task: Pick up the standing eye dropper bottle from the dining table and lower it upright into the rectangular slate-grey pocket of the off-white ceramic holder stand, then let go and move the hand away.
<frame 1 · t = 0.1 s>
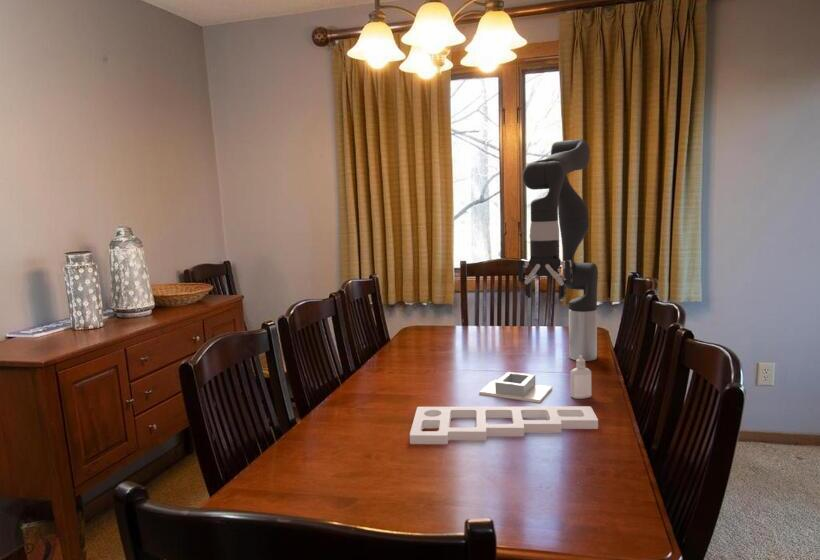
hand: (545, 298, 148), 29 cm above the table, tool pointing down, fingers open, 8 cm apart
eye dropper bottle: (580, 397, 154), on the table
holder: (504, 431, 135), on the table
holder stand: (515, 391, 160), on the table
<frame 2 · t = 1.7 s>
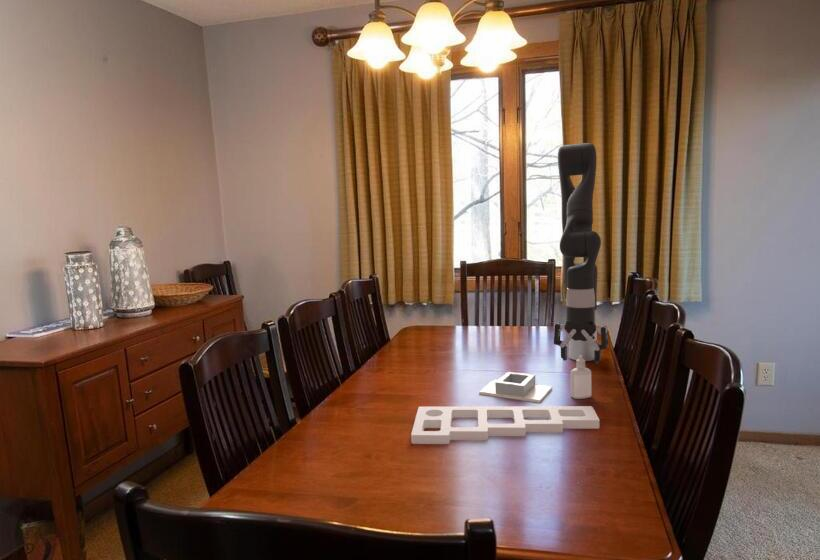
hand: (580, 361, 152), 10 cm above the table, tool pointing down, fingers open, 8 cm apart
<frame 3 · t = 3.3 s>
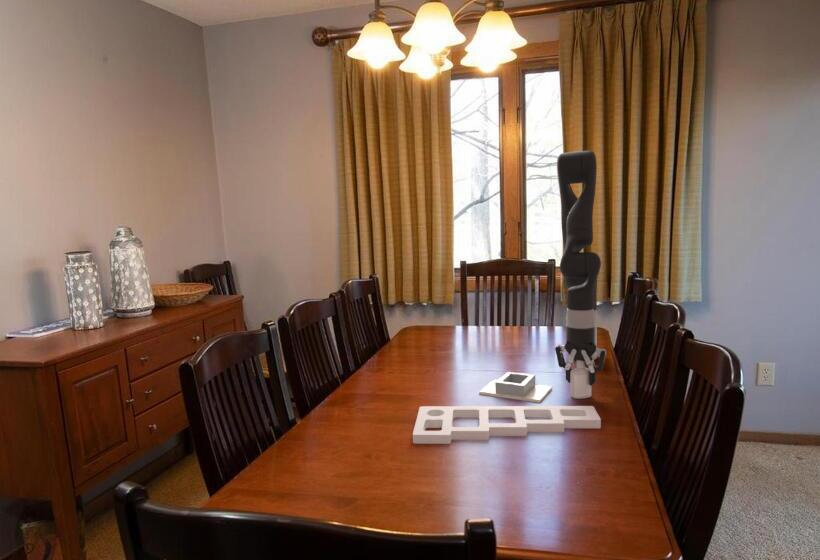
hand: (580, 383, 153), 4 cm above the table, tool pointing down, fingers closed on eye dropper bottle, 5 cm apart
eye dropper bottle: (580, 397, 154), on the table, touching gripper
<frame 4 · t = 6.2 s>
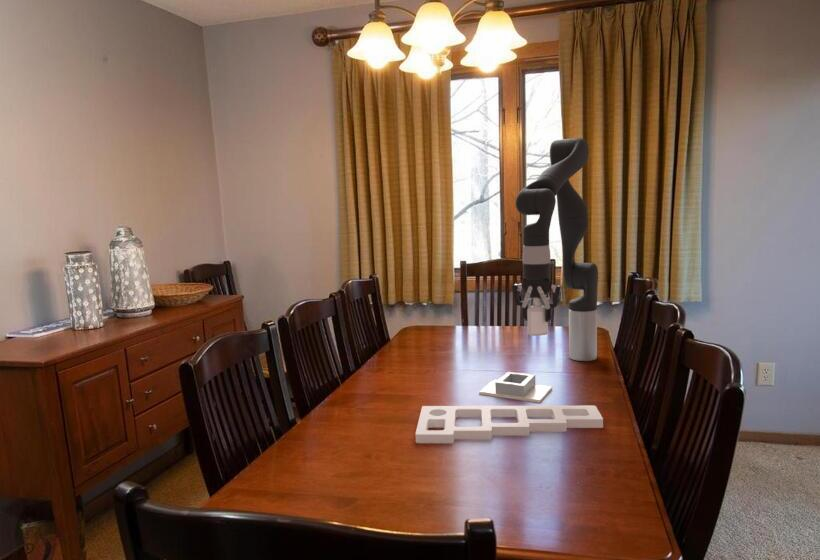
hand: (537, 320, 155), 22 cm above the table, tool pointing down, fingers closed on eye dropper bottle, 5 cm apart
eye dropper bottle: (537, 335, 155), point 17 cm above the table, touching gripper
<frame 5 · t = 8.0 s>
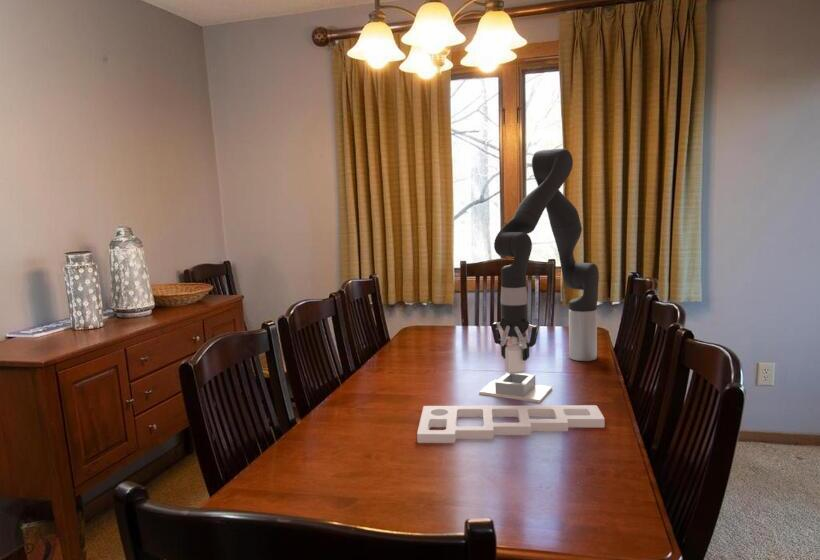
hand: (515, 358, 159), 10 cm above the table, tool pointing down, fingers closed on eye dropper bottle, 5 cm apart
eye dropper bottle: (515, 372, 160), point 6 cm above the table, touching gripper
when the fingers open (5 cm above the table, at t = 9.5 s): eye dropper bottle stays where it is, resting on holder stand.
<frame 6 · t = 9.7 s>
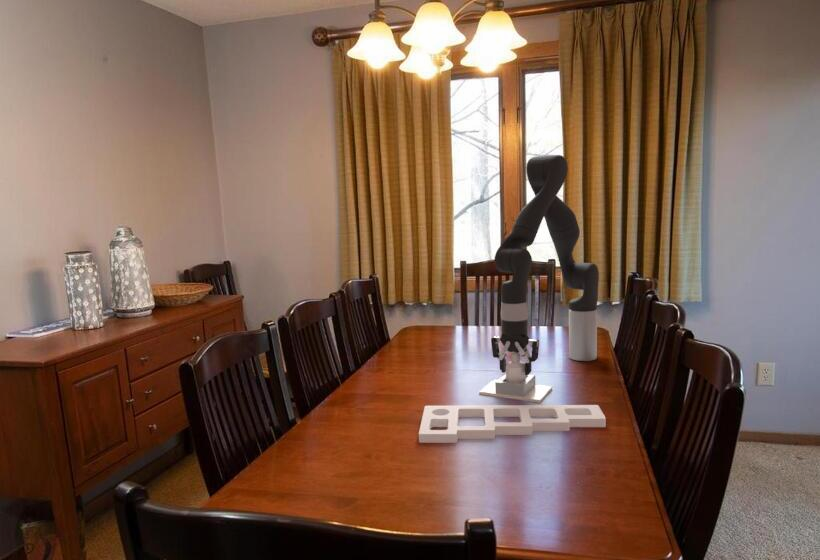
hand: (515, 373, 160), 6 cm above the table, tool pointing down, fingers open, 6 cm apart
eye dropper bottle: (516, 389, 160), point 1 cm above the table, touching holder stand
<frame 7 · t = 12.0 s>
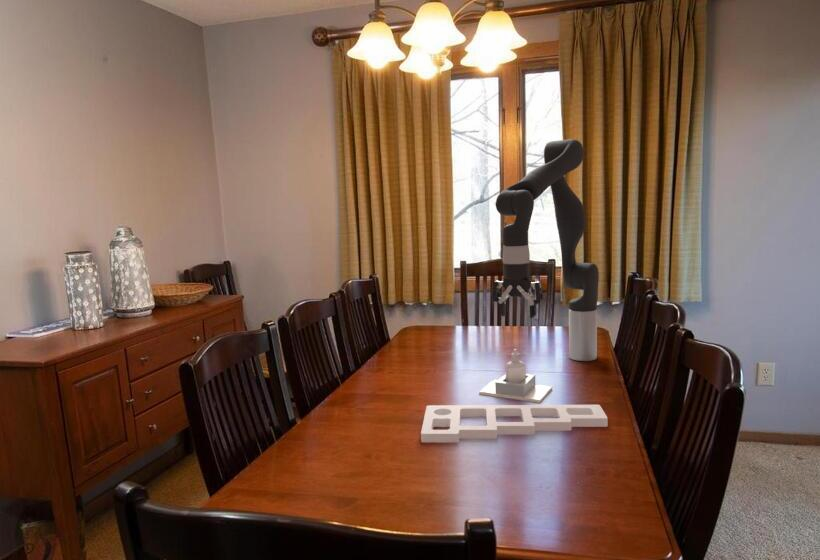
hand: (517, 316, 158), 22 cm above the table, tool pointing down, fingers open, 8 cm apart
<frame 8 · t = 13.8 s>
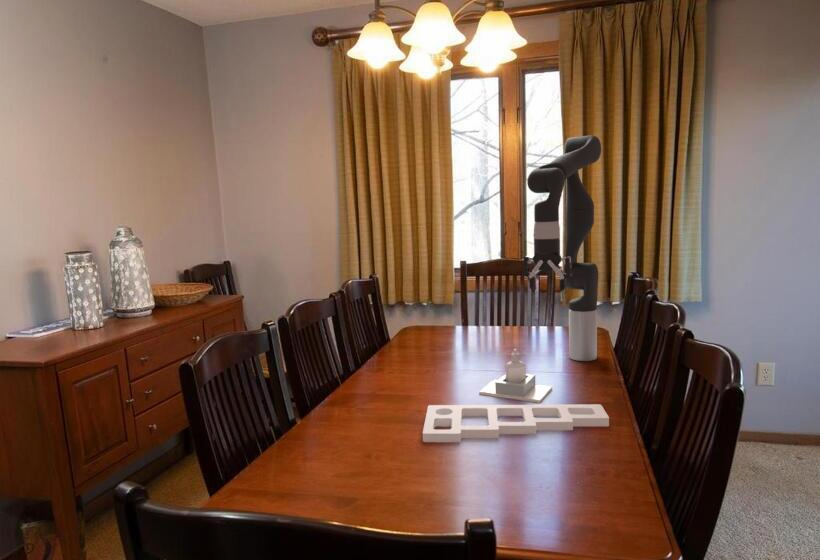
hand: (547, 290, 165), 28 cm above the table, tool pointing down, fingers open, 8 cm apart
at the end: eye dropper bottle 0.1 cm off-centre on the holder stand, point 0.6 cm above the holder stand's base; eye dropper bottle tilted 0°; the gripper is holding nothing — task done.
